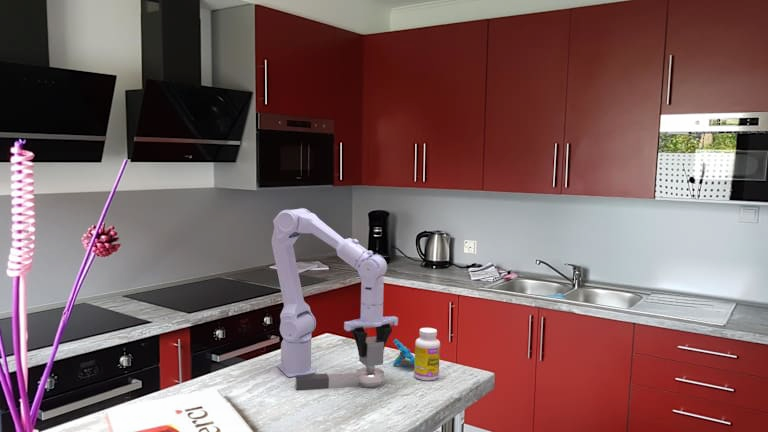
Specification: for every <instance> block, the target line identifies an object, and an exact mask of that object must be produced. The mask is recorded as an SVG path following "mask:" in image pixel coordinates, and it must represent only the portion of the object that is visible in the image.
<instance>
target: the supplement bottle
mask: <svg viewBox="0 0 768 432" xmlns="http://www.w3.org/2000/svg"><path fill="white" fill-rule="evenodd" d="M418 333H419V337H418V338H416V340H415V347H414V358H415V365H414V364H413V365H414V370H413V372H414V373H413V375H414V377H415V378H416V379H418V380H421V381H434V380H437V379H438V378H439V375H440V360H441V359H440V356H441V355H440V353H441V342H440V340H439V339H437V336H438V330H437V329H436V328H432V327H421V328H419V332H418Z"/></svg>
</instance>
